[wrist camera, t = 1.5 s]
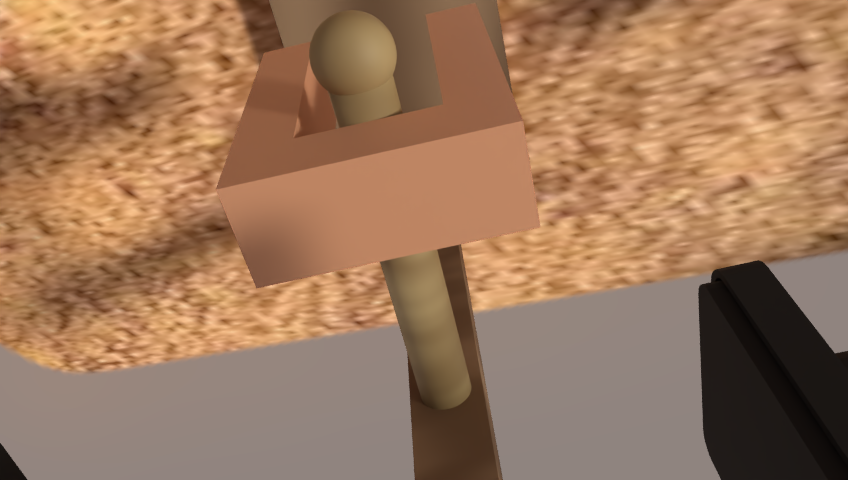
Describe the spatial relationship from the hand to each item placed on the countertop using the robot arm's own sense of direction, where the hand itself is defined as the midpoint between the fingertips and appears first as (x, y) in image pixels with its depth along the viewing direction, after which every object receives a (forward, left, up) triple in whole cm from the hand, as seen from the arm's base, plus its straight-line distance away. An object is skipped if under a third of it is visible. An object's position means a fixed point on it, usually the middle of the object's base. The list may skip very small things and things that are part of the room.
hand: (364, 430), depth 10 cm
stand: (0, +3, -26) cm, 27 cm away
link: (0, 0, -14) cm, 14 cm away
